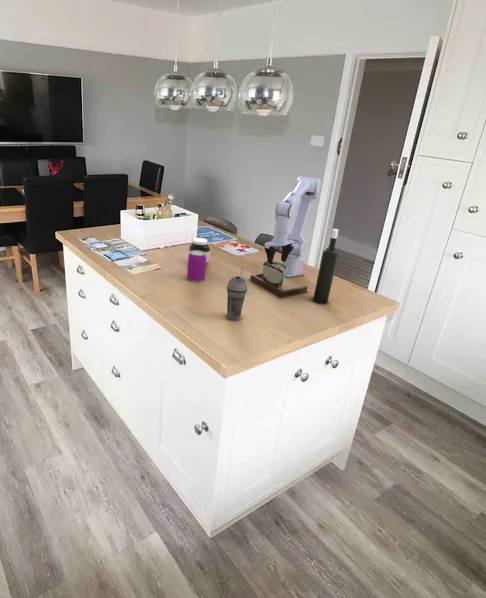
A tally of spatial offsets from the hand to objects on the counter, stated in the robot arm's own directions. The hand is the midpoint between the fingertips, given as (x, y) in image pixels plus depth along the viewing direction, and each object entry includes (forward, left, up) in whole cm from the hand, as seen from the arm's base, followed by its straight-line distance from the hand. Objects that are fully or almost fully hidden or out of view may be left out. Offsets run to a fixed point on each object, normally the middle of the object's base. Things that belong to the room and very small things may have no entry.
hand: (276, 262), depth 178 cm
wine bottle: (-7, +21, -10) cm, 25 cm away
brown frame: (-1, +2, -10) cm, 11 cm away
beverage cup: (+35, +19, -11) cm, 41 cm away
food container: (+1, +2, -10) cm, 11 cm away
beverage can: (+29, -18, -10) cm, 35 cm away
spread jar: (+19, -33, -10) cm, 39 cm away
